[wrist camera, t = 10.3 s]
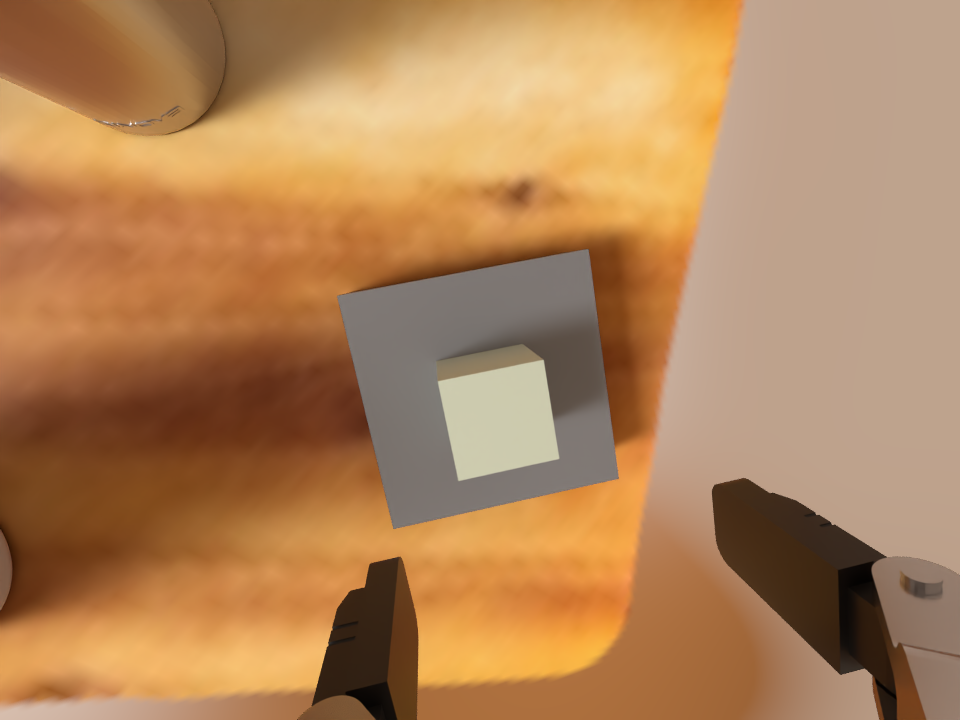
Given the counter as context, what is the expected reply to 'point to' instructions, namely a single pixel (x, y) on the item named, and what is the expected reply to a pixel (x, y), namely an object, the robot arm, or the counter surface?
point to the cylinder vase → (4, 569)
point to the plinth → (467, 330)
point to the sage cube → (497, 410)
